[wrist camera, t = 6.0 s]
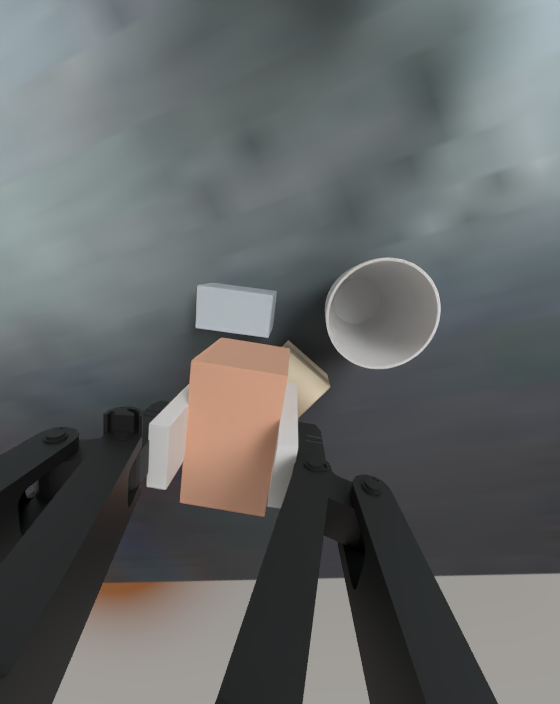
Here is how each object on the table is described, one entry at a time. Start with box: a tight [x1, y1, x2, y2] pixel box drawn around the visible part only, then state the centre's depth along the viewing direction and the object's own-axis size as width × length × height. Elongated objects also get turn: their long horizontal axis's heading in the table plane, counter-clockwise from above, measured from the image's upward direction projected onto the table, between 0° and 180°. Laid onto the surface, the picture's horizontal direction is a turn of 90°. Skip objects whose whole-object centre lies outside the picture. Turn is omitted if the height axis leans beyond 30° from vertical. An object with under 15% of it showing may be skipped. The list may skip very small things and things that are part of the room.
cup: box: [325, 258, 441, 369], centre depth 26 cm, size 8×8×10 cm
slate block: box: [196, 283, 277, 338], centre depth 29 cm, size 7×4×5 cm, turn 83°
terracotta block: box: [180, 337, 290, 517], centre depth 15 cm, size 7×4×5 cm, turn 171°
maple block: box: [282, 340, 330, 418], centre depth 32 cm, size 10×6×4 cm, turn 139°
